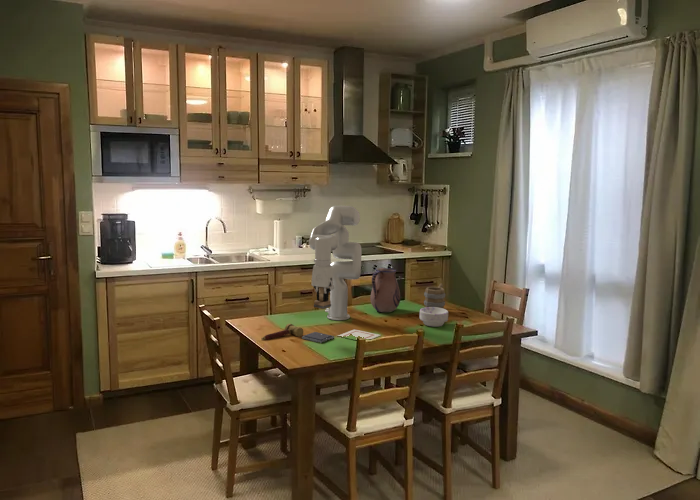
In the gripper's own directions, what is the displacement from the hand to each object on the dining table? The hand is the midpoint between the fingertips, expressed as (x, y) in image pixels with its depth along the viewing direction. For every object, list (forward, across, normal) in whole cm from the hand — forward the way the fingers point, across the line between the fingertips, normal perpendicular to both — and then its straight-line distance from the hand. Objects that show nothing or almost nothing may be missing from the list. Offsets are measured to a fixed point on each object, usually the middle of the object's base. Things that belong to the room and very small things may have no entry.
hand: (322, 300), depth 273 cm
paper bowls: (+20, +30, +58) cm, 68 cm away
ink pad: (+19, -1, -2) cm, 19 cm away
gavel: (+20, -18, -11) cm, 29 cm away
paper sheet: (+19, +12, +14) cm, 27 cm away
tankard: (+20, +16, +86) cm, 90 cm away
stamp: (+3, 0, 0) cm, 3 cm away
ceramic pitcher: (+20, -6, +64) cm, 67 cm away
